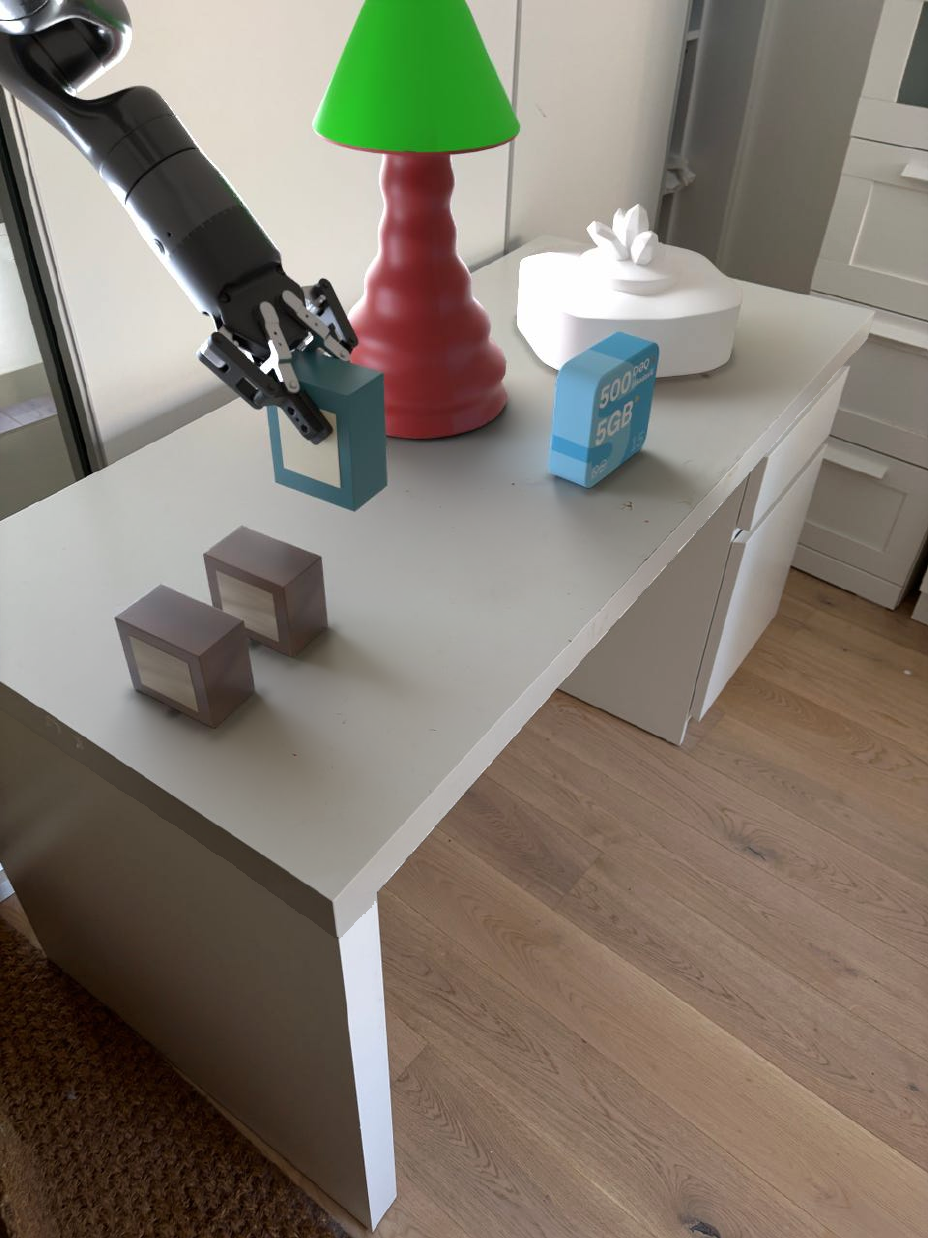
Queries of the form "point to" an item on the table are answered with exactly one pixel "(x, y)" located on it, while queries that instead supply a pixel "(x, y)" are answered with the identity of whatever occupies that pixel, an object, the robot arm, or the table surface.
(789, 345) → the table surface
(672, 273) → the crystal-topped trinket box
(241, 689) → the walnut block
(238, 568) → the walnut block
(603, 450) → the data package
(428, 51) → the table lamp
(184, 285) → the robot arm
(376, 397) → the teal block
